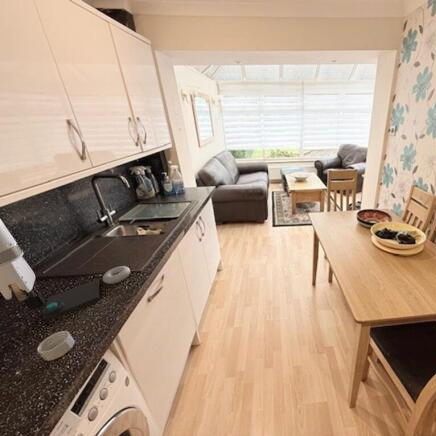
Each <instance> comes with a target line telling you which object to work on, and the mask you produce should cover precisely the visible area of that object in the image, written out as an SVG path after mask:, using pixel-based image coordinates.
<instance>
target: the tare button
mask: <svg viewBox="0 0 436 436" xmlns="http://www.w3.org/2000/svg"><path fill="white" fill-rule="evenodd" d="M57 306H58V305H57V303H56V302H53V303H51V304H49V305H48V306H47V309H48V310H52V309H55V308H56V307H57Z"/></svg>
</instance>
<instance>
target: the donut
mask: <svg viewBox="0 0 436 436" xmlns="http://www.w3.org/2000/svg"><path fill="white" fill-rule="evenodd" d="M130 274H131V269H130V268H129V266H125V265H121V266H116V267H114V268H113V267H112V268H111V269H109V270H107V271H106V272H105V273H104V274H103V276H102V281H103V283H105V284H106V285H115V284H119V283H121V282H123V281H124V280H126V279H127V278H128V277H130Z"/></svg>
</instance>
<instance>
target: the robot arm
mask: <svg viewBox="0 0 436 436" xmlns="http://www.w3.org/2000/svg"><path fill="white" fill-rule="evenodd" d="M23 256H24V251H23V250H22V248H21V247H20V246H19V244H18V242H17V241H16V239H15V238H14V236H13V235H12V233H11V232H10V230H9V229H8V228H7V226H6V225H5V222H3V220H2V219H1V218H0V293H1V295H2V296H3V298H4V299H5V300H8V301H9V300H12V298H13V296H14V295H15V297H16V298H17V300H18V301H19V302H24V304H25V306H26V307H27V309H28V310H29V311H34V310H36V309H39V308H41V307H44V306H46V305H45V304H46V300H45V299H44V297H43V296H42V294H41V293H40V291H38V288H37V287H36V286H35V281H36V275H35V274H36V273H35V272H34V270H33V269H32V268H31V267H30V265H29V263H28V262H27V261H26V260H25V258H24V257H23Z"/></svg>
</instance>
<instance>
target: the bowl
mask: <svg viewBox="0 0 436 436" xmlns="http://www.w3.org/2000/svg"><path fill="white" fill-rule="evenodd" d="M75 342H76V341H75V339H74V337H73V336H72V335H71V333H70V332H69V331H67V330H62V331H61V330H60V331H58V332H55V333H53V334H50V335H49V336H48V337H46V338H45V339H43V340H42V341H41V342H40V344H38V346H37V349H36V351H37V353H38V354H39V355H40V356H41V358H42V359H43V360H44V361H47V362H48V361H49V362H50V361H54V360H56V359H59V358H61V357H62V356H64V355H66V354H67V353H69V351H70V350H72V348H73V347H74V345H75Z"/></svg>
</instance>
